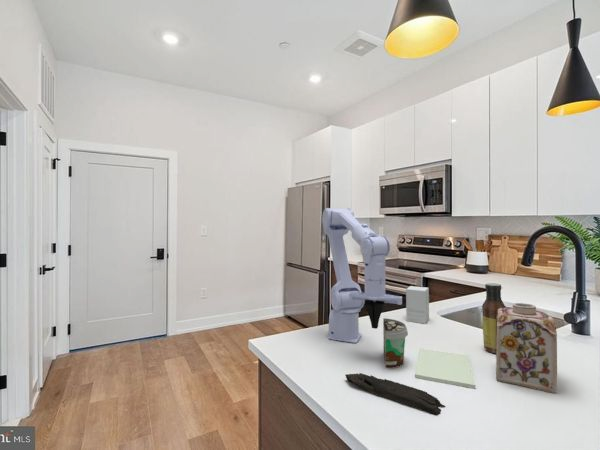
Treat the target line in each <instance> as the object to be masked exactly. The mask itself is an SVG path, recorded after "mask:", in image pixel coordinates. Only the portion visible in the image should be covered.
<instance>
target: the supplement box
mask: <svg viewBox="0 0 600 450" xmlns="http://www.w3.org/2000/svg"><path fill="white" fill-rule="evenodd" d="M429 290H430V289H429V287H428V286H427V287H425V286H416V285H414V286H413V285H410V286H408V287H407V288H406V289H405V301H406V302H405V307H406V309H405V312H406V314H405V315H406V322H412V323H417V324H427V323H428V321H429V320H430V295H429V293H430V291H429Z"/></svg>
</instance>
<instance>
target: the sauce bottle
mask: <svg viewBox="0 0 600 450" xmlns="http://www.w3.org/2000/svg"><path fill="white" fill-rule="evenodd" d="M484 285H485V286H484V287H485V291H486V292H485V293H486V294H485V295H486V296H485V297H486V299H485V301H484V302H483V303H482V334H483V335H482V336H483V345H484V346H483V348H484V350H485V351H487V352H489V353H491V354H495V355H496V338H497V335H496V334H497V325H496V324H497V320H496V319H497V310H498V309H500V308H507V307H506V305H505V304H504V302H503V300H502V293H501V290H502V285H501V284H500V283H493V282H492V283H491V282H489V283H488V282H487V283H484Z"/></svg>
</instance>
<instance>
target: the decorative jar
mask: <svg viewBox="0 0 600 450" xmlns="http://www.w3.org/2000/svg"><path fill="white" fill-rule="evenodd" d="M496 320H497V324H496V325H497V334H496V335H497V338H496V354H495V355H496V361H495V362H496V367H495V368H496V369H495V378H496V380H497V381H498V382H504V383H507V384H511V385H512V384H513V385H517V386H522V387H525V388H529V389H534V390H539V391H542V392H543V391H544V392H547V393H553V394H557V392H558V391H557V389H558V341H557V340H558V334H557V327H556V326H555V324H556V323H555V319H554V317H553V316H552V315H551V314H549V313H546V312H544V311H541V310H537V307H536V305H535V304H531V303H527V302H526V303H523V302H514V303H512V307H506V308H500V309H498V310H497V319H496Z"/></svg>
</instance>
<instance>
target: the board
mask: <svg viewBox="0 0 600 450" xmlns="http://www.w3.org/2000/svg"><path fill="white" fill-rule="evenodd" d="M415 378H416V379H422V380H426V381H432V382H436V383H441V384H448V385H452V386H453V385H454V386H458V387H459V386H460V387H464V388H470V389H476V382H475V378H474V373H473V369H472V364H471V360H470V355H468V354H461V353H454V352H448V351H443V350H442V351H440V350H434V349H425V348H420V347H419V350H418V356H417V361H416V366H415V374H414V379H415Z"/></svg>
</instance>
